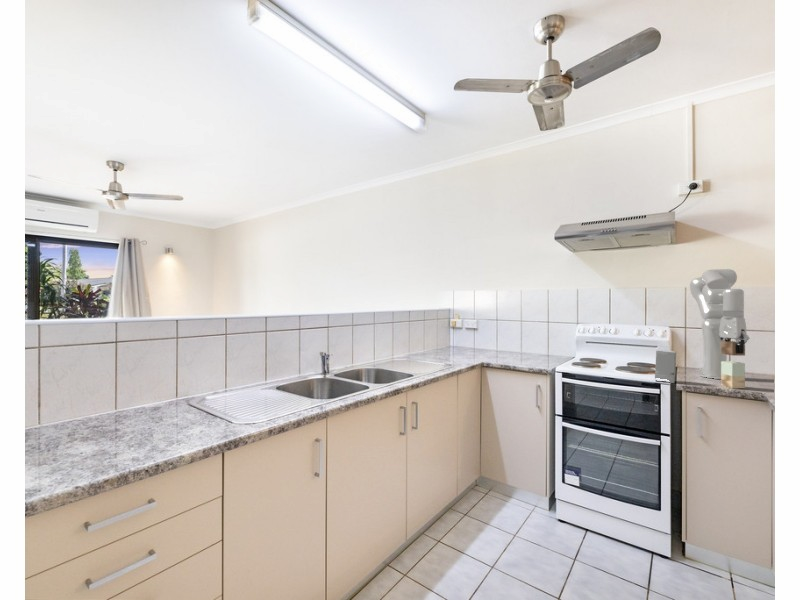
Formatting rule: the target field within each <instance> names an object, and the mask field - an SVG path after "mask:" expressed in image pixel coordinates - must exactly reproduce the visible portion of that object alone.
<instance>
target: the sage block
mask: <svg viewBox="0 0 800 600" xmlns="http://www.w3.org/2000/svg"><path fill="white" fill-rule="evenodd" d="M721 374H725V375H729V376H745V377H746V363H744V362H740V361H735V360H734V361H730V360H729V361H728V360H727V361H721Z"/></svg>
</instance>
